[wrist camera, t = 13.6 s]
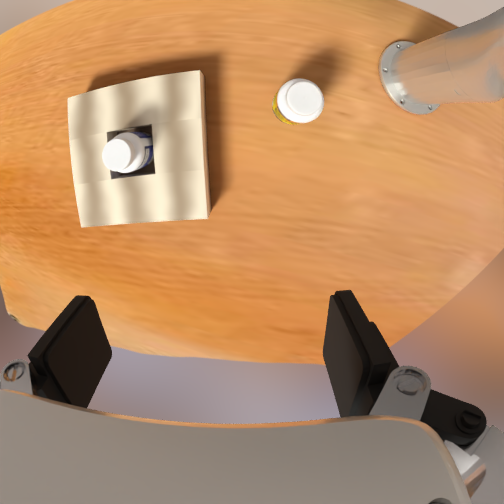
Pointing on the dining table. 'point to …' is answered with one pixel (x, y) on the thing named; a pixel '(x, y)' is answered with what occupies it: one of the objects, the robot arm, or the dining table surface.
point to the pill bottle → (128, 152)
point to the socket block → (164, 145)
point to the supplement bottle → (298, 102)
